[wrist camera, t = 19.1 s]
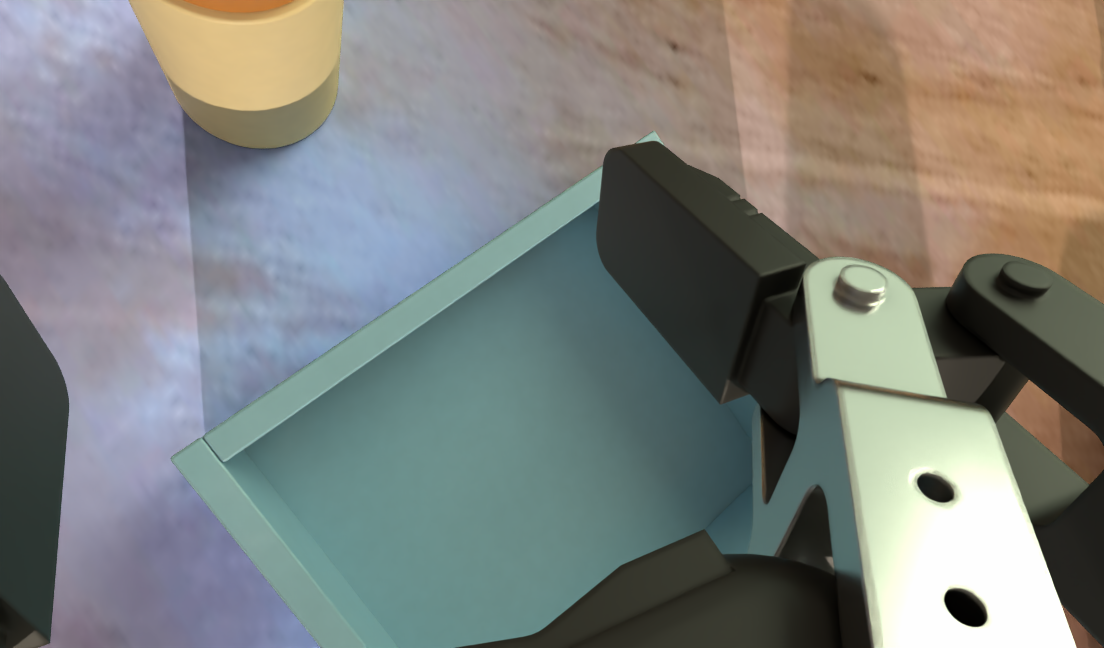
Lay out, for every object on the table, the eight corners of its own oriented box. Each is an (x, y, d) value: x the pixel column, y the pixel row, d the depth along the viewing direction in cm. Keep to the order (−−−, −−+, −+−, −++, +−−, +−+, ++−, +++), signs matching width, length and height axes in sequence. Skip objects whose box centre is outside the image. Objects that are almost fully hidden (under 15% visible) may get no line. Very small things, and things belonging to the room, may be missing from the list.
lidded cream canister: (277, -27, 22) (254, -265, 14) (368, 103, 23) (396, -54, 15) (131, 39, 20) (10, -187, 12) (233, 178, 21) (181, 47, 13)
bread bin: (590, 179, 25) (654, 129, 20) (782, 467, 27) (883, 485, 22) (204, 441, 20) (168, 458, 15) (469, 777, 22) (512, 888, 17)
